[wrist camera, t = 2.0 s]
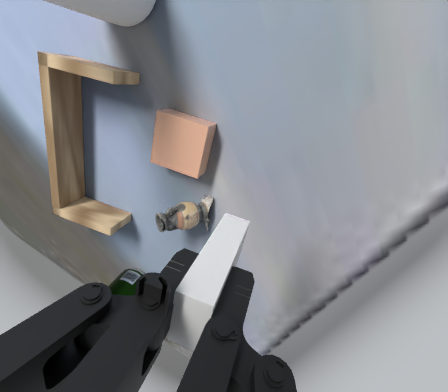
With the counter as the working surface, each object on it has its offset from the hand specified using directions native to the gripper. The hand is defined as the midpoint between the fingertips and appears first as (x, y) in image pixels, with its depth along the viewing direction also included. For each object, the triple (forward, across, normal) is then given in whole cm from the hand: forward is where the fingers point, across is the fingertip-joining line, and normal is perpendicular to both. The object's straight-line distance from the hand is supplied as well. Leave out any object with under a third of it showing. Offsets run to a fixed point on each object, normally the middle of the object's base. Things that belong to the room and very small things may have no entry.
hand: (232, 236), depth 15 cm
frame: (+16, -21, -4) cm, 27 cm away
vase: (+16, -8, -8) cm, 19 cm away
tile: (+16, -10, 0) cm, 19 cm away
